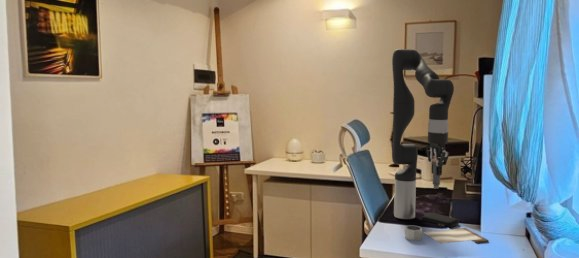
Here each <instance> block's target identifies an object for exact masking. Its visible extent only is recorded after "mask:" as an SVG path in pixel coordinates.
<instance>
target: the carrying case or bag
mask: <svg viewBox="0 0 579 258" xmlns="http://www.w3.org/2000/svg"><path fill="white" fill-rule="evenodd" d="M419 219H420V221H424V222H427V223H430V224H431V223H432V224H434V225H438V226H441V227H447V228H448V229H453V228H454V227H456V226H457V225H458V224H460V221H459V220H458V218H456V217H452V216H447V215H445V214H444V215H443V214H438V213H435V212H429V213H426V214H424V215H422V216H421V217H420V218H419Z"/></svg>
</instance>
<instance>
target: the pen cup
mask: <svg viewBox="0 0 579 258" xmlns="http://www.w3.org/2000/svg"><path fill="white" fill-rule="evenodd" d="M404 238H405V239H406V240H408V241H412V242H418V241H421V240H422V238H423V227H421V226H418V225H414V224H413V225H411V224H410V225H406V226H405V227H404Z"/></svg>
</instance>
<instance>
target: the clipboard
mask: <svg viewBox="0 0 579 258" xmlns="http://www.w3.org/2000/svg"><path fill="white" fill-rule="evenodd" d="M422 234H426V235H427V236H428V237H429V238H431V239H432V240H434V241H436V242H437V243H439V244H447V243H458V242H469V241H470V242H473V243H475V244H485V243H489V239H488V238H485V237H483V236H481V235H479V234H478V233H477V232H474V231H472V230H470V229H468V228H466V227H459V228H449V229H440V230H430V231H429V230H428V231H422Z"/></svg>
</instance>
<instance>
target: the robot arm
mask: <svg viewBox="0 0 579 258" xmlns="http://www.w3.org/2000/svg"><path fill="white" fill-rule="evenodd" d="M391 58H392V59H391V60H392V61H391V63H392V78H393V79H392V80H393V102H392V103H393V104H392V108H393V109H392V116H393V131H392V132H393V133H392V134H393V135H392V145H391V148H392V149H391V159H392V163H393V164H394V165H407V166H406V167H405V168H404V169H401V170H399V171H397V172H395V174H394V193H393V194H394V195H393V197H394V198H393V199H394V201H393V215H394V217H395V218H397V219H401V220H412V219H415V218H416V198H417V197H416V193H417V192H416V191H417V189H416V188H417V170H418V169H417V167H418V165H417V164H418V154H419V153H418V152H419V151H418V147H417V145H416V144H415V143H402V142H401V141H402V137H403V135H404V133H405V130H406V129H407V127H408V126H409V125H410V123H411V122H412V120H413V118H414V116H415V103H416V102H415V97H414V95H413V94H412V92H411V90H410V89H409V86H408V85H407V84H406V81H405V77H404V71H414V72H415V73H414V75H415V76H414V77H415V79H416V80H417V82H418V83H419V84H420V85H421V86H422V87H423V89H424V93H425V95H426V97H429V98H431V99H436V98H438V99H439V98H440V99H439V101H438V102H437V103H432V104H430V106H429V110H428V112H429V113H428V124H427V143H429V144H430V145H429V146H428V147H427V146H426V149H425V150H426V154H427V159H428V160H427V162H430V164H431V174H432V175H433V158H434V157H435V160H436V175H437V176H440V177H441V176H443V175H442V174H443V167H444V166H446V165H447V163H448V160H449V157H450V152H449V151H446V146H445V145H446V144H448V142H449V108H450V104H451V101H452V98H453V95H454V91H455V90H454V89H455V86H454V83H453V82H452V80H450V79H446V78H445V79H443V78H442V79H440V77H439V75H438V74H437V73H436V72H435V71H434V70H432V69H431V67H429V66H428V64H427V63H426V62H425V60H424V58H423V57H422V56H421V54H420V53H419V52H418V51H417V50H416V49H408V48H407V49H406V48H397V49H395V50H394V51H393V53H392V57H391ZM438 157H439V158H438ZM439 160H440V161H439Z"/></svg>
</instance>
